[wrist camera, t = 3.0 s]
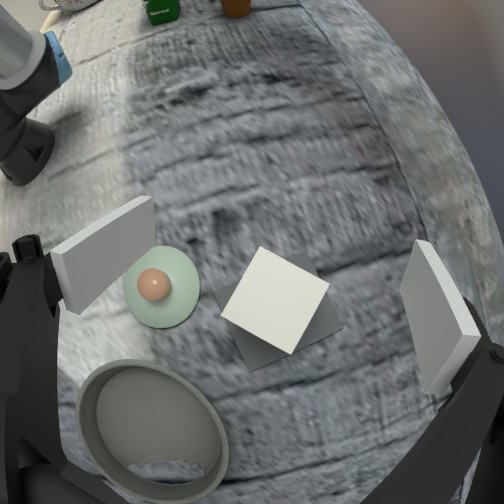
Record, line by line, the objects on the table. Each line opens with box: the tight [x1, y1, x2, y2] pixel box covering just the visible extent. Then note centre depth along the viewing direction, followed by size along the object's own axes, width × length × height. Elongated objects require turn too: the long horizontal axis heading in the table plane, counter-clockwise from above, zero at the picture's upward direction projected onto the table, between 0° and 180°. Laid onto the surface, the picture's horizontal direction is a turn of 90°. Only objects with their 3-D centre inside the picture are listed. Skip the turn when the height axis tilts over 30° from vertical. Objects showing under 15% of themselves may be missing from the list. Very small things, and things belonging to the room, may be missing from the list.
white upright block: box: [221, 247, 329, 354], centre depth 35 cm, size 8×8×11 cm
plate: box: [124, 246, 201, 328], centre depth 42 cm, size 12×12×1 cm
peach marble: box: [137, 268, 171, 301], centre depth 40 cm, size 4×4×3 cm
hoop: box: [75, 359, 229, 504], centre depth 36 cm, size 25×25×4 cm
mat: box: [214, 250, 343, 372], centre depth 40 cm, size 14×12×1 cm
